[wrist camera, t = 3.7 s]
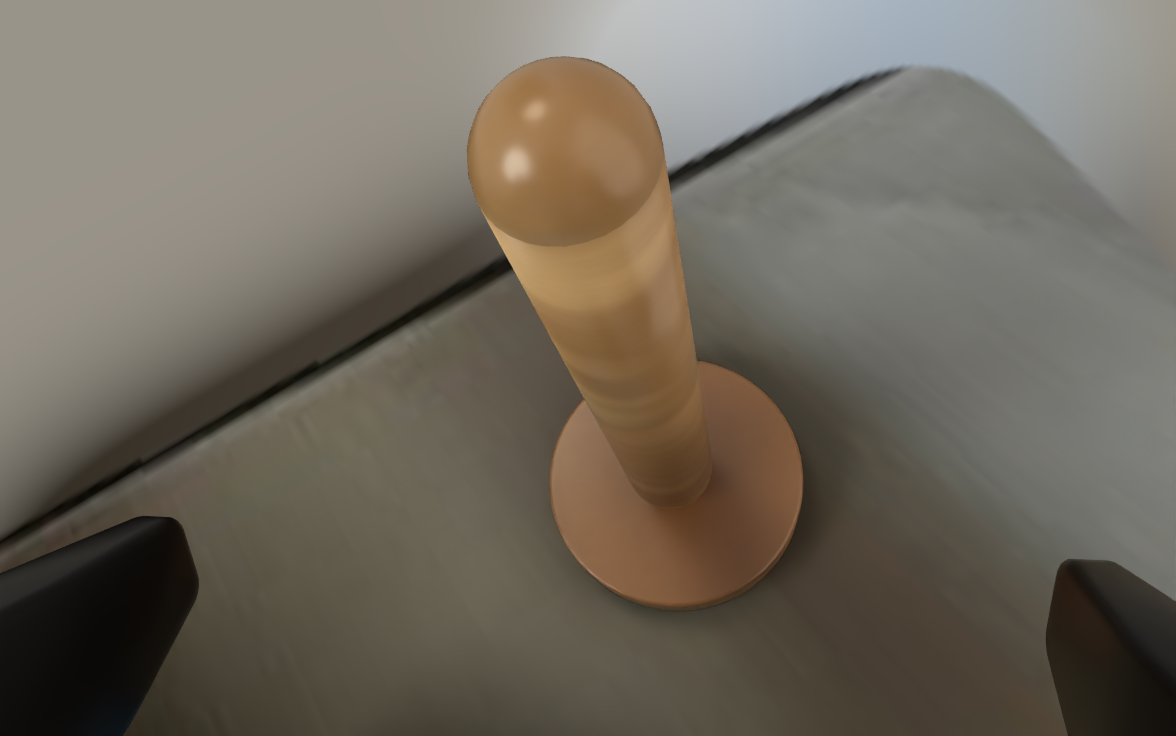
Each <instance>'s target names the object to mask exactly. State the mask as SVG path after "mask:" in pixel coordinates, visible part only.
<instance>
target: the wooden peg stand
mask: <svg viewBox="0 0 1176 736" xmlns="http://www.w3.org/2000/svg"><path fill="white" fill-rule="evenodd" d="M467 162H468V176H469V179H470V183H471V186H472V189H473V192H474V195H475V198H476V201H477V203H478V205H479V207H480V209H481V211H482V213H483V214H484V216H485V218H486V220H487V222H488V223H489V225H490V227H491V229H492V231H493V232H494V234H495V236H496V238H497V240H498V242H499V244H500V245H501V247H502V249H503V251H504V253H505V255H506V256H507V258H508V260H509V262H510V264H511V266H512V267H513V269H514V271H515V273H516V275H517V277H518V278H519V280H520V282H521V284H522V286H523V288H524V289H525V291H526V293H527V295H528V297H529V299H530V300H531V302H532V304H533V306H534V308H535V310H536V311H537V313H538V315H539V317H540V319H541V320H542V322H543V324H544V326H545V328H546V330H547V331H548V333H549V335H550V337H551V339H552V341H553V342H554V344H555V346H556V348H557V350H558V352H559V353H560V355H561V357H562V359H563V361H564V363H565V364H566V366H567V368H568V370H569V372H570V374H571V375H572V377H573V379H574V381H575V383H576V385H577V386H578V388H579V390H580V392H581V394H582V395H583V397H584V399H583V400H582V401H581V402H580V403H579V404H578V406H577V407H576V408H575V410H574V411H573V412H572V414H571V415H570V416H569V418H568V420H567V422H566V423H565V425H564V427H563V429H562V431H561V433H560V435H559V438H558V440H557V443H556V445H555V449H554V453H553V456H552V461H551V468H550V486H549V491H550V499H551V507H552V511H553V514H554V518H555V522H556V525H557V527H558V529H559V532H560V534H561V537H562V539H563V540H564V542H565V544H566V546H567V547H568V549H569V551H570V552H571V554H572V555H573V556H574V557H575V559H576V560H577V561H578V563H579V564H580V565H581V566H582V567H583V568H584V569H585V570H586V571H587V572H588V573H589V574H590V575H591V576H592V577H593V578H595V579H596V580H597V581H598V582H600V583H601V584H602V585H604V586H605V587H606V588H608V589H609V590H610V591H612V592H614V593H615V594H617V595H619V596H621V597H623V598H624V599H626V600H629V601H631V602H634V603H636V604H639V605H642V606H646V607H650V608H654V609H660V610H669V611H691V610H697V609H703V608H708V607H712V606H715V605H718V604H721V603H724V602H726V601H729V600H731V599H733V598H735V597H737V596H739V595H741V594H742V593H744V592H745V591H747V590H748V589H750V588H752V587H753V586H754V585H755V584H757V583H758V582H759V581H760V580H761V579H762V578H764V577H765V576H766V575H767V574H768V573H769V571H770V570H771V569H772V568H773V567H774V566H775V565H776V563H777V562H778V561H779V559H780V558H781V556H782V555H783V553H784V552H785V550H786V548H787V546H788V544H789V542H790V540H791V538H792V536H793V533H794V530H795V527H796V524H797V521H798V517H799V513H800V509H801V503H802V497H803V479H804V478H803V468H802V460H801V456H800V452H799V448H798V444H797V442H796V439H795V437H794V434H793V432H792V429H791V428H790V426H789V424H788V422H787V420H786V419H785V417H784V415H783V414H782V413H781V411H780V410H779V409H778V407H777V406H776V405H775V403H774V402H773V401H772V400H771V399H770V398H769V397H768V396H767V395H766V394H765V393H764V392H763V391H762V390H761V389H759V388H758V387H757V386H756V385H754V384H753V383H752V382H751V381H749V380H747V379H746V378H744V377H742V376H741V375H739V374H737V373H735V372H733V371H731V370H729V369H726V368H724V367H722V366H718V365H715V364H712V363H709V362H704V361H698V360H696V353H695V347H694V341H693V334H692V328H691V321H690V315H689V309H688V302H687V296H686V289H685V283H684V277H683V270H682V264H681V257H680V251H679V244H678V238H677V232H676V225H675V219H674V212H673V206H672V200H671V193H670V187H669V180H668V174H667V167H666V161H665V155H664V149H663V143H662V138H661V134H660V130H659V127H658V124H657V121H656V119H655V116H654V114H653V112H652V110H651V107H650V106H649V105H648V103H647V102H646V101H645V99H644V98H643V97H642V95H641V94H640V93H639V91H638V90H637V89H636V88H635V86H634V85H633V84H632V83H631V82H629V81H628V80H627V79H626V78H625V77H623V76H622V75H621V74H619V73H618V72H616V71H614V70H613V69H611V68H609V67H607V66H605V65H603V64H601V63H599V62H595V61H592V60H589V59H584V58H575V57H550V58H545V59H540V60H537V61H534V62H531V63H529V64H526V65H524V66H522V67H520V68H518V69H516V70H515V71H513V72H512V73H510V74H509V75H508V76H506V77H505V78H504V79H503V80H501V81H500V82H499V83H498V84H497V85H496V86H495V87H494V89H493V90H492V91H491V92H490V93H489V94H488V95H487V96H486V98H485V99H484V101H483V103H482V104H481V106H480V108H479V109H478V111H477V114H476V117H475V119H474V122H473V125H472V127H471V130H470V134H469V140H468V146H467Z"/></svg>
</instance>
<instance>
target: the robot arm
mask: <svg viewBox="0 0 1176 736" xmlns="http://www.w3.org/2000/svg"><path fill="white" fill-rule="evenodd" d="M198 589H199V578H198V574H197V570H196V567H195V564H194V561H193V558H192V555H191V551H190V548H189V545H188V542H187V539H186V536H185V532H184V530H183V527H182V525H181V524H180V523H179V522H178V521H177V520H175V519H173V518H171V517H154V516H140V517H136V518H133V519H130V520H128V521H126V522H123V523H121V524H118V525H116V526H113V527H111V528H109V529H106V530H104V531H101V532H99V533H97V534H94V535H92V536H89V537H87V538H85V539H82V540H80V541H77V542H75V543H72V544H70V545H68V546H65V547H63V548H60V549H58V550H56V551H53V552H51V553H48V554H46V555H44V556H41V557H39V558H36V559H34V560H31V561H29V562H27V563H24V564H22V565H19V566H17V567H15V568H12V569H10V570H7V571H5V572H2V573H0V736H123V735H124V733H125V732H126V730H127V728H128V727H129V725H130V724H131V722H132V720H133V718H134V716H135V715H136V713H137V711H138V709H139V707H140V706H141V704H142V702H143V700H144V698H145V696H146V694H147V692H148V690H149V689H150V687H151V685H152V683H153V681H154V679H155V677H156V675H157V673H158V671H159V669H160V668H161V666H162V664H163V662H164V660H165V658H166V656H167V654H168V652H169V650H170V648H171V647H172V645H173V643H174V641H175V639H176V637H177V635H178V633H179V631H180V629H181V627H182V626H183V624H184V622H185V620H186V618H187V616H188V614H189V612H190V610H191V608H192V606H193V604H194V603H195V600H196V598H197V594H198ZM1046 648H1047V655H1048V659H1049V663H1050V667H1051V671H1052V675H1053V679H1054V683H1055V687H1056V691H1057V695H1058V699H1059V703H1060V706H1061V710H1062V714H1063V718H1064V722H1065V726H1066V730H1067V734H1068V736H1176V601H1174V600H1173V599H1171V598H1170V597H1168V596H1166V595H1165V594H1163V593H1162V592H1160V591H1159V590H1157V589H1156V588H1154V587H1153V586H1151V585H1150V584H1148V583H1146V582H1145V581H1143V580H1142V579H1140V578H1139V577H1137V576H1136V575H1134V574H1133V573H1131V572H1130V571H1128V570H1126V569H1125V568H1123V567H1122V566H1120V565H1118V564H1117V563H1115V562H1112V561H1107V560H1084V559H1067V560H1066V561H1064V562H1063V563H1061V565H1060V567H1059V569H1058V571H1057V575H1056V580H1055V586H1054V591H1053V596H1052V602H1051V607H1050V613H1049V618H1048V623H1047V629H1046Z"/></svg>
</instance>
